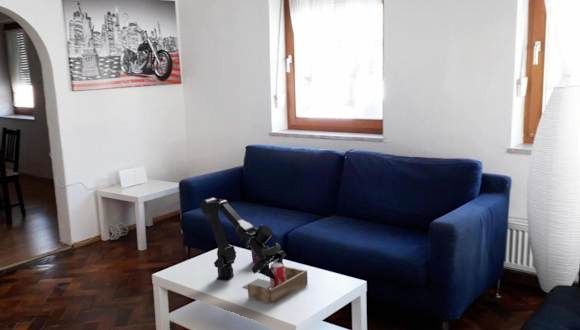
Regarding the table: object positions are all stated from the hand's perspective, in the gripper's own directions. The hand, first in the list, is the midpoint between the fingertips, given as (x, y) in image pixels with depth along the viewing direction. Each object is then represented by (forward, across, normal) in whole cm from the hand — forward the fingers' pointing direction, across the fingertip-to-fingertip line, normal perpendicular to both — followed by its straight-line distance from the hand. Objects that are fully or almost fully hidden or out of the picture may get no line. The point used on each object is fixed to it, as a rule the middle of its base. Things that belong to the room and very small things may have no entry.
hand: (280, 276), depth 241 cm
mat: (-4, 0, +13) cm, 14 cm away
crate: (+4, 0, +6) cm, 7 cm away
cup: (-19, +24, +29) cm, 42 cm away
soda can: (+4, 0, +6) cm, 7 cm away
